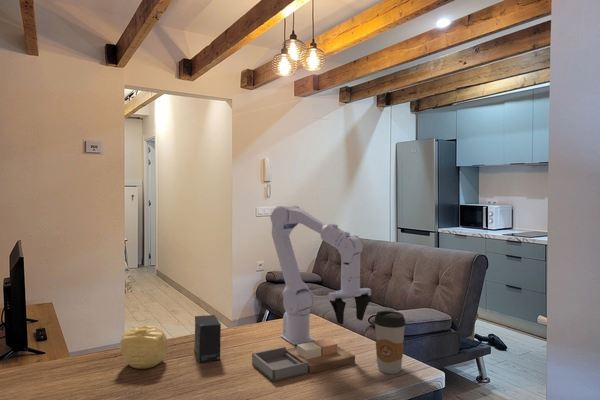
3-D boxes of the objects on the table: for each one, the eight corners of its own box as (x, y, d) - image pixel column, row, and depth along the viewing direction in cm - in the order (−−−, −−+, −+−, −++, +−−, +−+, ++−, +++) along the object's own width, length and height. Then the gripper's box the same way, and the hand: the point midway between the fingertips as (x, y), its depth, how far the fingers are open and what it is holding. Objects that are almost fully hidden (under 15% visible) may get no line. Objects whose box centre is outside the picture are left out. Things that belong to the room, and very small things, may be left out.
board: (284, 356, 121) (284, 349, 121) (327, 346, 129) (327, 340, 129) (310, 374, 109) (310, 366, 109) (355, 362, 117) (355, 355, 117)
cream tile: (297, 353, 118) (297, 344, 118) (311, 350, 121) (311, 341, 120) (306, 359, 114) (306, 350, 114) (321, 356, 116) (321, 347, 116)
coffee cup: (369, 371, 111) (370, 316, 111) (378, 360, 118) (379, 308, 118) (400, 378, 107) (401, 320, 107) (408, 366, 114) (408, 312, 114)
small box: (221, 360, 118) (222, 323, 118) (198, 363, 115) (198, 326, 115) (215, 347, 128) (215, 313, 128) (193, 350, 125) (193, 315, 125)
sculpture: (114, 373, 109) (114, 332, 109) (134, 355, 121) (134, 318, 121) (157, 373, 108) (157, 333, 108) (173, 356, 120) (173, 319, 120)
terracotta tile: (313, 349, 121) (313, 341, 121) (327, 346, 123) (327, 338, 123) (322, 355, 116) (322, 346, 116) (337, 352, 119) (337, 343, 119)
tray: (252, 363, 115) (252, 353, 115) (284, 356, 121) (284, 346, 121) (273, 382, 104) (273, 370, 104) (308, 373, 109) (308, 362, 109)
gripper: (338, 281, 117) (338, 328, 117) (377, 276, 124) (377, 321, 125) (324, 276, 123) (324, 322, 123) (362, 272, 131) (362, 315, 131)
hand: (350, 321), depth 124 cm, fingers open, 7 cm apart
